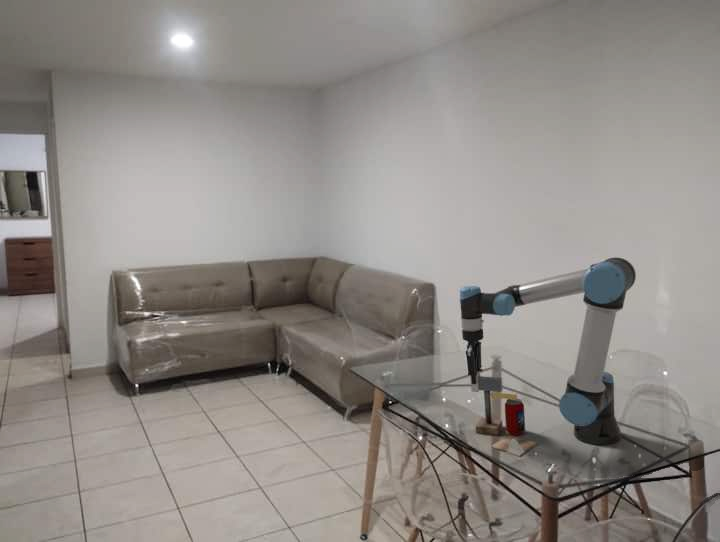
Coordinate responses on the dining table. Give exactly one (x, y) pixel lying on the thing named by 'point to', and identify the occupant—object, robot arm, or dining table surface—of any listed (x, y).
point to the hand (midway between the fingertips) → (476, 390)
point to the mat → (503, 443)
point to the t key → (492, 385)
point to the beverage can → (514, 416)
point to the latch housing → (489, 426)
